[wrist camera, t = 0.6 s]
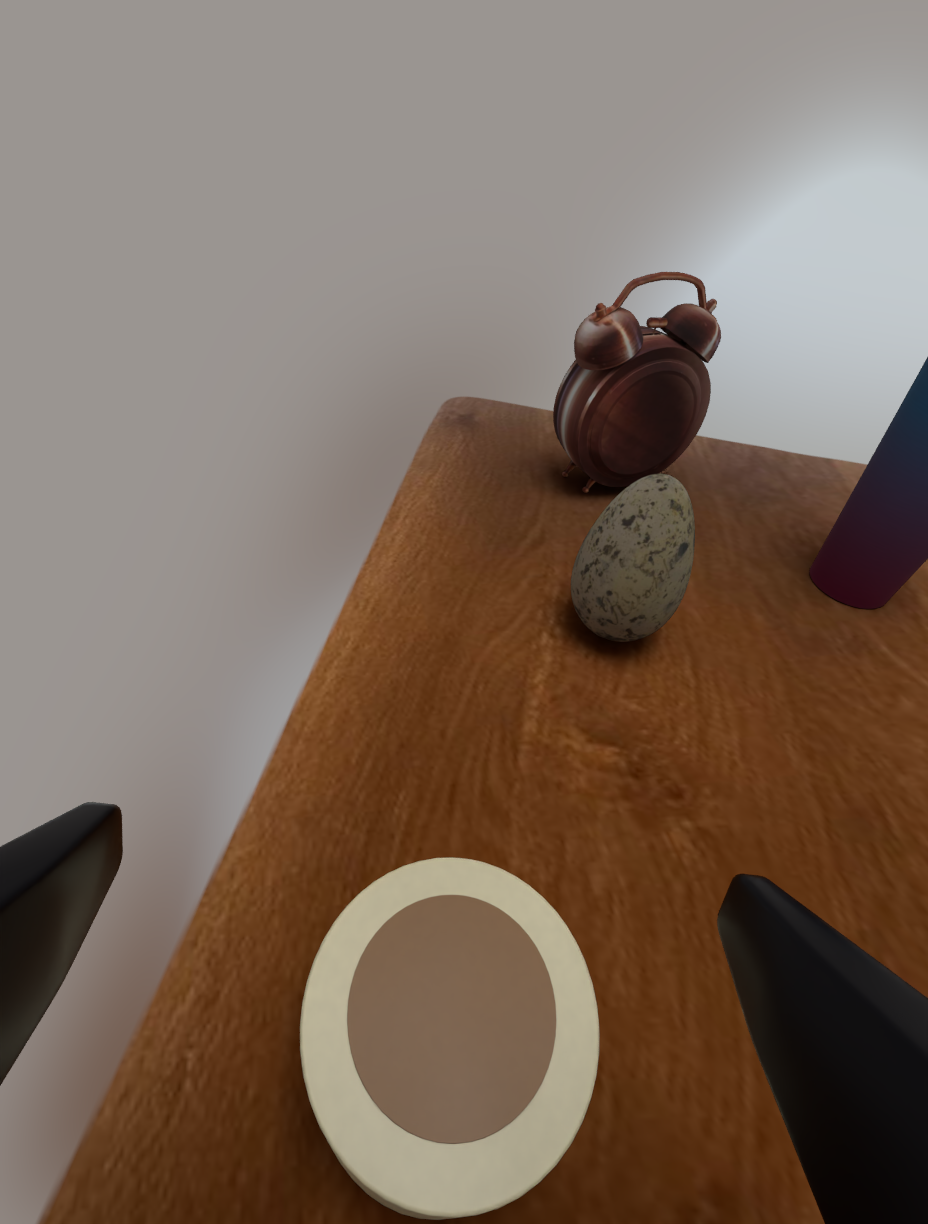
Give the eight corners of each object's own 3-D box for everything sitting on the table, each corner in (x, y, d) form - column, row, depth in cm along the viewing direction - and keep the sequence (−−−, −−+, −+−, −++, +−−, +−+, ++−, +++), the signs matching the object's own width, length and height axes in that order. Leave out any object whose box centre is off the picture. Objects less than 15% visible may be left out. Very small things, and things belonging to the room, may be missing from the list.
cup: (839, 623, 37) (1019, 388, 26) (775, 556, 41) (906, 335, 31) (924, 614, 38) (1125, 389, 28) (853, 551, 43) (1002, 338, 33)
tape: (563, 1242, 16) (612, 1247, 13) (276, 1194, 16) (250, 1185, 13) (560, 930, 22) (593, 876, 18) (350, 896, 22) (345, 836, 19)
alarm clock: (647, 461, 50) (717, 263, 40) (680, 492, 47) (765, 285, 36) (533, 472, 46) (576, 259, 36) (559, 506, 43) (616, 282, 33)
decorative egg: (554, 653, 32) (602, 498, 25) (562, 585, 37) (604, 438, 30) (662, 676, 32) (740, 525, 25) (656, 605, 36) (722, 459, 29)
